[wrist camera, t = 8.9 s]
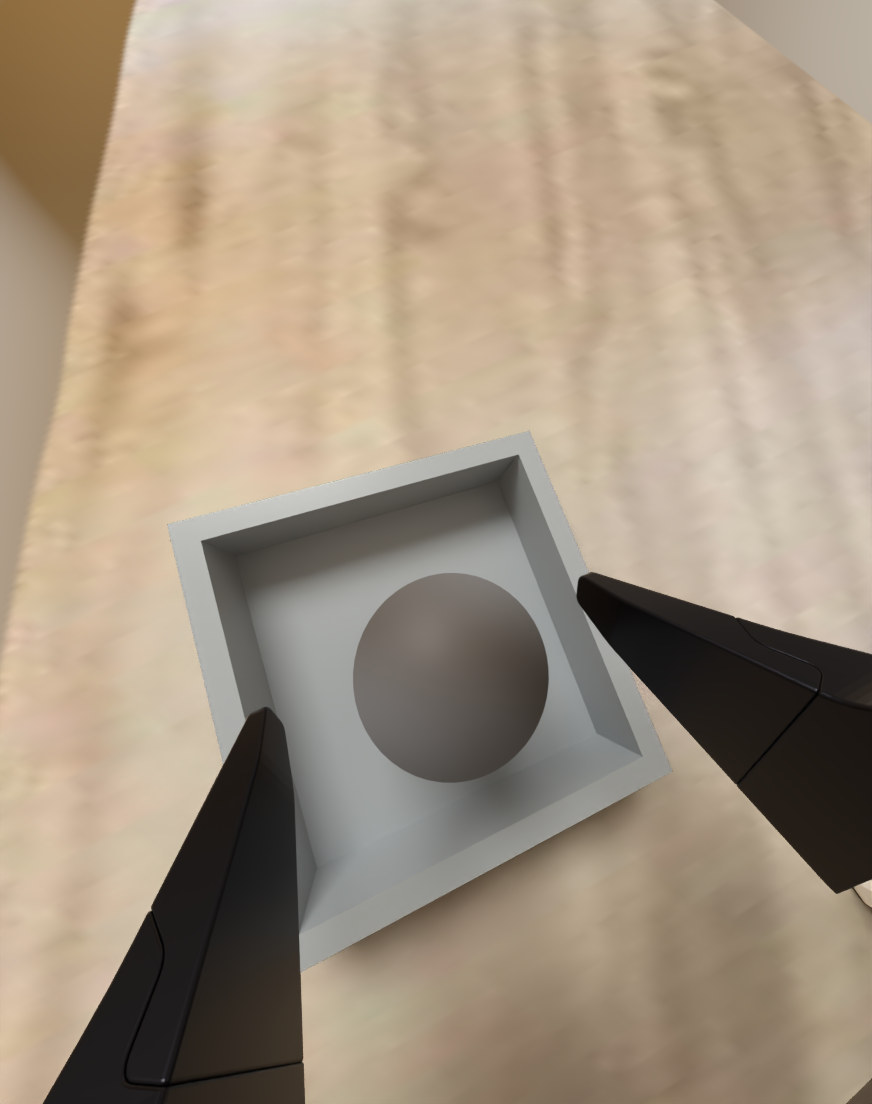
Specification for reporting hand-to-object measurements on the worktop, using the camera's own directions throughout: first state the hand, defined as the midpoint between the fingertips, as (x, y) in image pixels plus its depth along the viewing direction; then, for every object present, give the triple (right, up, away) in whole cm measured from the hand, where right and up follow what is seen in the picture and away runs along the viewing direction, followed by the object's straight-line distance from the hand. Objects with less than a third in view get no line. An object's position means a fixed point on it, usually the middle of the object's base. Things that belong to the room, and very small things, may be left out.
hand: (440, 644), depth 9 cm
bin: (-1, -2, +8) cm, 9 cm away
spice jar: (-1, -2, +8) cm, 8 cm away
